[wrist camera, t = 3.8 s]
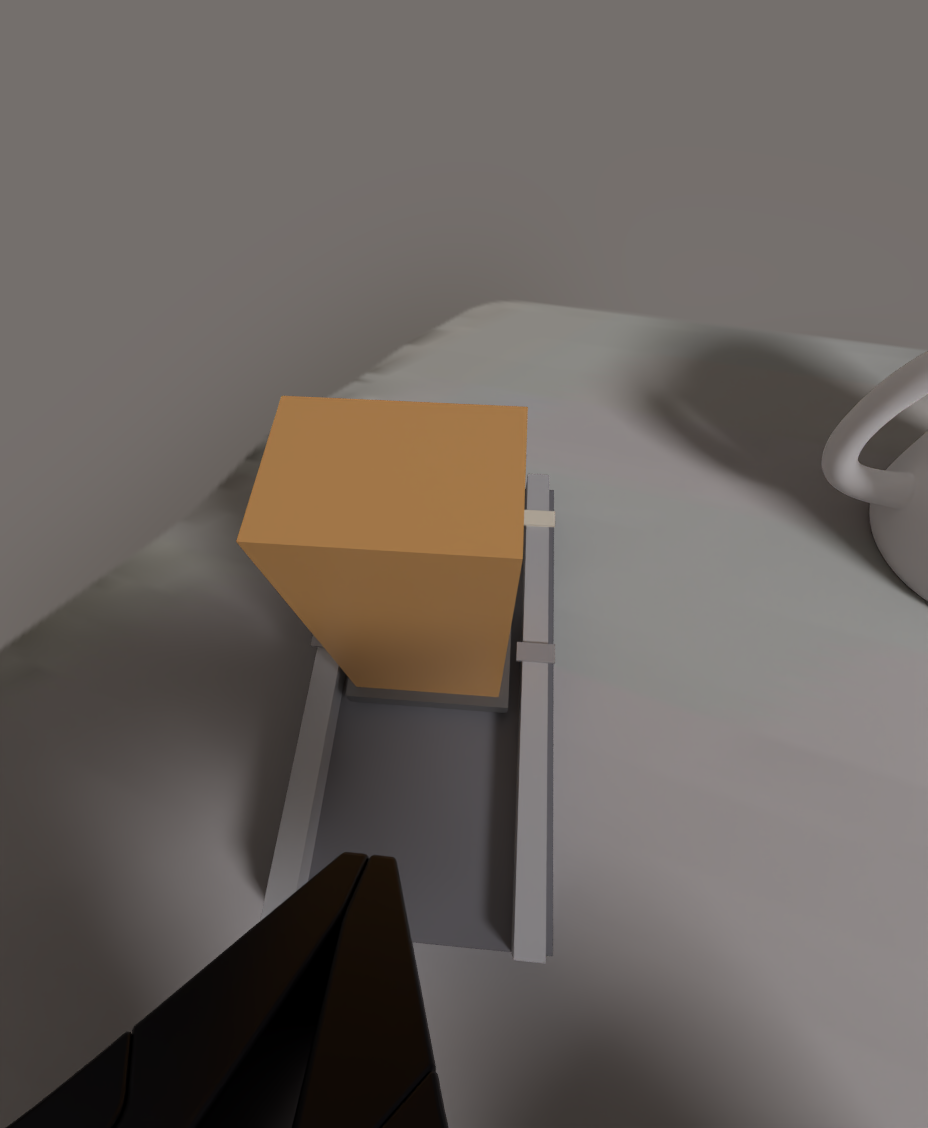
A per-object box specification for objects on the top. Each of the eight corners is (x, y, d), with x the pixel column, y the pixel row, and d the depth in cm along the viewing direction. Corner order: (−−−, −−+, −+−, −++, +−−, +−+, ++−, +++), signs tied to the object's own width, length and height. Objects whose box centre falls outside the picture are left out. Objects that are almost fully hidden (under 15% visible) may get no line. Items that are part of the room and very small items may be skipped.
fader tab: (506, 713, 17) (542, 578, 8) (350, 701, 17) (211, 558, 8) (511, 607, 18) (545, 394, 9) (368, 598, 19) (269, 382, 10)
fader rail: (545, 944, 15) (558, 965, 13) (277, 918, 16) (243, 933, 14) (548, 510, 22) (557, 473, 20) (360, 500, 23) (347, 462, 20)
